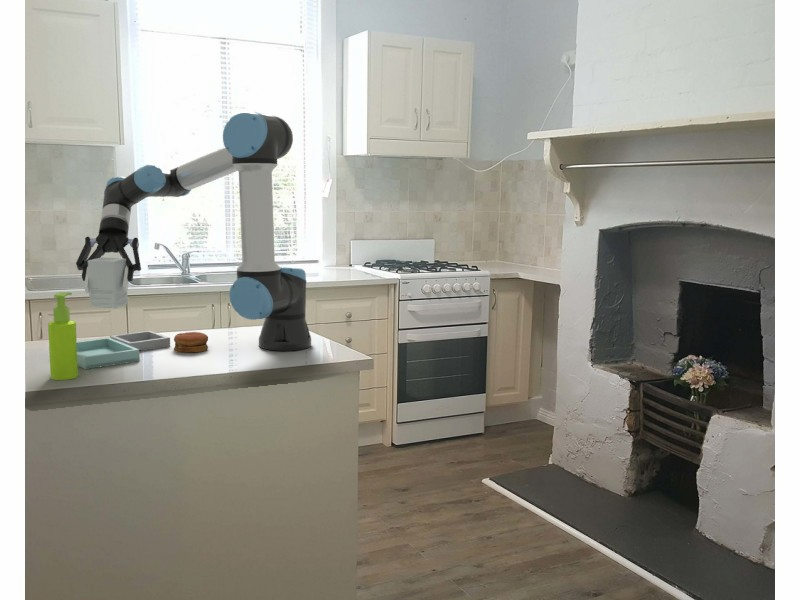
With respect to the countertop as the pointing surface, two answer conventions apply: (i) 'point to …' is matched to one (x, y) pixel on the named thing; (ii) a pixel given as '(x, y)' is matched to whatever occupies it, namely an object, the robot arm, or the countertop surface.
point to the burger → (191, 342)
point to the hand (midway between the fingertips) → (105, 289)
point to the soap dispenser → (62, 342)
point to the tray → (104, 353)
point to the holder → (143, 340)
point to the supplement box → (107, 282)
